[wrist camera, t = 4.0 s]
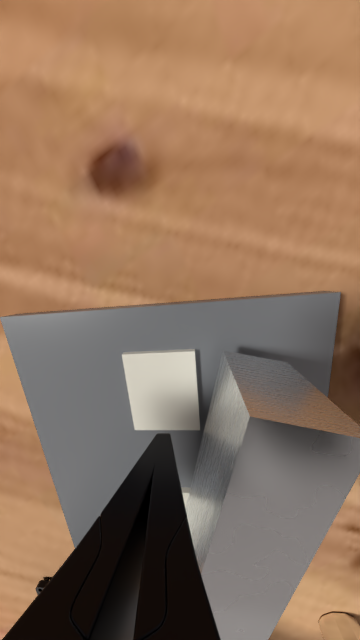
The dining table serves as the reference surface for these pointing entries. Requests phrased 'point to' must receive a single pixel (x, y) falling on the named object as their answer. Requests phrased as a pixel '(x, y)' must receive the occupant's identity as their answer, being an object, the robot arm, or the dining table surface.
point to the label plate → (149, 380)
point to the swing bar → (265, 489)
